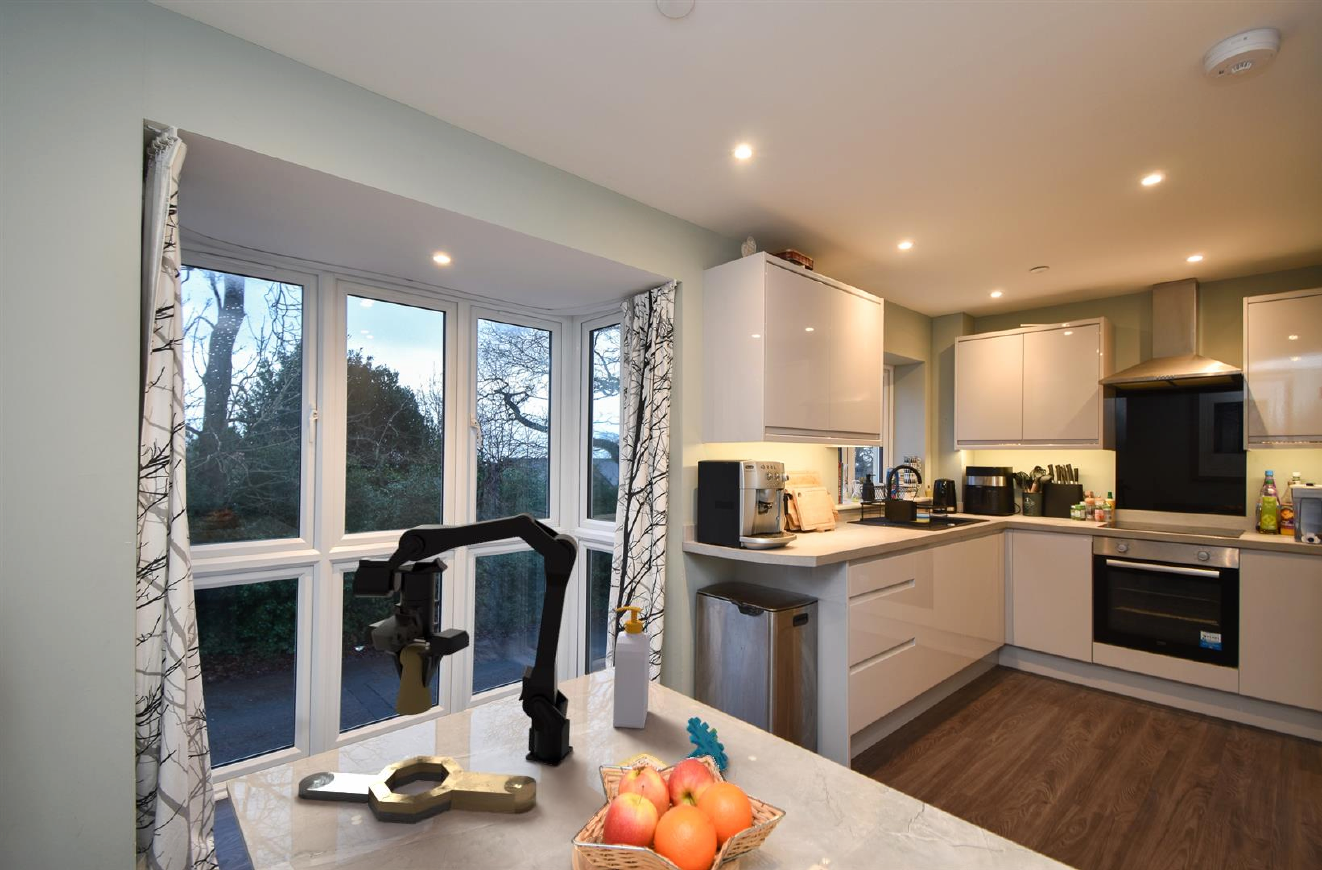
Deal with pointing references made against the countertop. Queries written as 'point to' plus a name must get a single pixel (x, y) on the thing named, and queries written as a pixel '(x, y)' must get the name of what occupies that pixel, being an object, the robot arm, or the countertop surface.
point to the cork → (412, 683)
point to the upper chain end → (454, 789)
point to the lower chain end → (356, 791)
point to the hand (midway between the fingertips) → (414, 685)
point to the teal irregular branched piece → (706, 742)
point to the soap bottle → (631, 674)
